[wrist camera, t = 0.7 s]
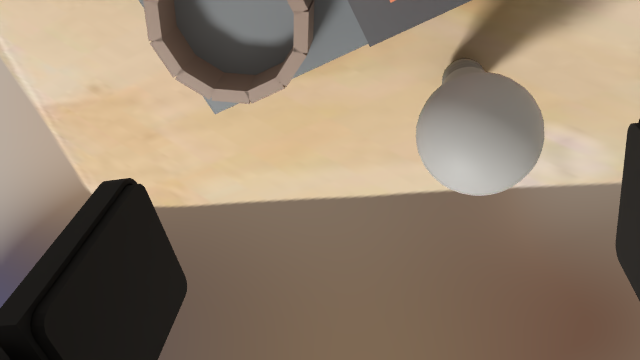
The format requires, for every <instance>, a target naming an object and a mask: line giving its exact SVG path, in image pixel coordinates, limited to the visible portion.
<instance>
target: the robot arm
mask: <svg viewBox="0 0 640 360" xmlns="http://www.w3.org/2000/svg"><path fill="white" fill-rule="evenodd" d="M616 252H617V257H618V260H619V262H620V264H621V266H622V268H623V270H624V272H625V274H626V276H627V278H628V279H629V281H630V283H631V285H632V287H633V289H634V291H635V293H636V295H637V297H638V299H639V301H640V119H639V123H633V124H631V125H630V126H629V128H628V132H627V141H626V150H625V160H624V169H623V178H622V188H621V197H620V206H619V216H618V226H617V235H616ZM186 292H187V281H186V278H185V275H184V273H183V271H182V268H181V266H180V264H179V262H178V260H177V257H176V255H175V253H174V251H173V249H172V246H171V244H170V242H169V240H168V237H167V235H166V233H165V231H164V229H163V226H162V224H161V222H160V220H159V217H158V216H157V213H156V211H155V209H154V206H153V204H152V202H151V200H150V198H149V195H148V193H147V191H146V189H145V187H144V186H143V185H141V184H137V182H135V181H134V180H133V179H131V178H127V179H119V180H111V181H104V182H102V183H101V184H100V185H99V187H98V188H97V189H96V190H95V192H94V193H93V194H92V195H91V196H90V198H89V199H88V200H87V201H86V203H85V204H84V205H83V206H82V208H81V209H80V211H78V213H77V214H76V215H75V217H74V218H73V219H72V220H71V221H70V223H69V224H68V225H67V226H66V228H65V229H64V230H63V231H62V233H61V234H60V235H59V236H58V237H57V239H56V240H55V241H54V242H53V244H52V245H51V246H50V247H49V249H48V250H47V251H46V253H45V254H44V255H43V256H42V257H41V259H40V260H39V261H38V262H37V263H36V265H35V266H34V267H33V269H32V270H31V271H30V272H29V273H28V275H27V276H26V277H25V278H24V280H23V281H22V282H21V283H20V285H19V286H18V287H17V288H16V290H15V291H14V292H13V293H12V295H11V296H10V297H9V298H8V300H7V301H6V302H5V303H4V304H3V306H2V307H1V308H0V360H158V358H159V355H160V353H161V351H162V348H163V346H164V343H165V341H166V339H167V337H168V335H169V332H170V330H171V328H172V325H173V323H174V321H175V318H176V316H177V314H178V312H179V309H180V307H181V305H182V302H183V300H184V298H185V295H186Z"/></svg>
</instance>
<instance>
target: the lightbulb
mask: <svg viewBox="0 0 640 360" xmlns="http://www.w3.org/2000/svg"><path fill="white" fill-rule="evenodd" d="M543 142H544V120H543V117H542V114H541V110H540V108H539V106H538V105H537V103H536V101H535V99H534V98H533V96H532V95H531V94H530V93H529V92H528V91H527V90H526V89H525V88H524V87H522V86H521V85H520V84H518V83H517V82H515V81H513V80H512V79H510V78H508V77H505V76H503V75H500V74H495V73H490V72H485V71H484V69H483V68H482V66H481V65H480V64H479V63H478V62H476V61H474V60H472V59H459V60H456V61H454V62H453V63H451V64H450V65H449V66H448V67H447V68H446V69H445V71H444V74H443V79H442V85H441V86H440V87H439V88H438V89H437V90H436V91H435V92H433V94H432V95H431V96H430V97H429V99H428V100H427V101H426V103H425V105H424V107H423V109H422V111H421V113H420V115H419V119H418V122H417V126H416V143H417V148H418V153H419V155H420V157H421V160H422V162H423V164H424V166H425V167H426V169H427V170H428V171H429V173H430V174H431V175H432V176H433V177H434V178H435V179H436V180H437V181H438V182H440V183H441V184H442V185H444V186H445V187H447V188H449V189H451V190H454V191H456V192H459V193H463V194H469V195H490V194H495V193H498V192H501V191H504V190H506V189H508V188H510V187H512V186H514V185H515V184H517V183H518V182H520V181H521V180H522V179H523V178H524V177H525V176H526V175H527V174H528V173H529V172H530V171H531V170H532V169H533V167H534V166H535V164H536V163H537V161H538V158H539V156H540V154H541V151H542V147H543Z"/></svg>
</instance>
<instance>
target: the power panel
mask: <svg viewBox="0 0 640 360" xmlns="http://www.w3.org/2000/svg"><path fill="white" fill-rule="evenodd" d="M469 1H471V0H395V1H393V2H391V3H390V0H139V2H140V3H141V4H142V6H143V7H144V11H145V18H146V25H147V32H148V39H149V41H152V42H151V43H150V44H151V46H152V47H153V49H154V50H155V52H156V53H157V55H158V56H159V57H160V59H161V60H162V62H163V63H164V65H165V66H166V68H167V69H168V71H169V72H170V74H171V75H172V76H173V77H175V76H177V77H176V79H175V80H177V81H179V82H180V83H182V84H184V85H185V86H187V87H189V88H190V89H192V90H194V91H196V92H197V93H199V94H201V95H202V96H203V97H204V99H205V100H206V102H207V103H208V105H209V106H210V108H211V109H212V111H213V112H214V113H215V114H217V113H219V112H221V111H223V110H225V109H228V108H230V107H232V106H234V105H236V104H238V103H245V104H249V103H250V102H251V103H254V102H256V101H258V100H261V99H263V98H265V97H267V96H269V95H272V94H274V93H276V92H278V91H280V90H282V89H285V86H286V87H287V85H288V84H289V82H290V81H291V79H293V78H295V77H297V76H299V75H301V74H304V73H306V72H308V71H310V70H312V69H314V68H317V67H319V66H321V65H323V64H325V63H327V62H330V61H332V60H334V59H336V58H338V57H340V56H343V55H345V54H347V53H349V52H351V51H353V50H356V49H358V48H360V47H362V46H364V45H366V44H369V46H370V47H371V46H373V45H375V44H377V43H379V42H382V41H384V40H386V39H388V38H390V37H393V36H395V35H397V34H399V33H401V32H403V31H406V30H408V29H410V28H412V27H414V26H417V25H419V24H421V23H423V22H425V21H428V20H430V19H432V18H434V17H436V16H438V15H441V14H443V13H445V12H447V11H449V10H452V9H454V8H456V7H458V6H460V5H462V4H465V3H467V2H469Z"/></svg>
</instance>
